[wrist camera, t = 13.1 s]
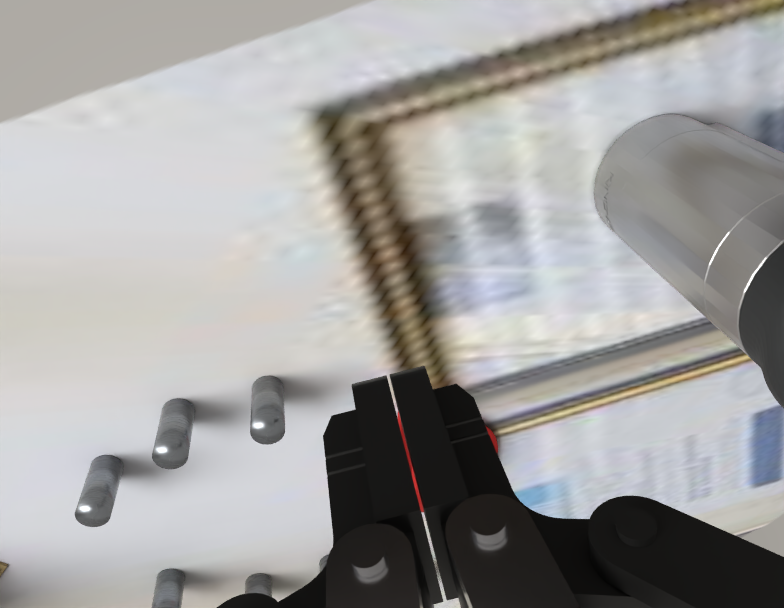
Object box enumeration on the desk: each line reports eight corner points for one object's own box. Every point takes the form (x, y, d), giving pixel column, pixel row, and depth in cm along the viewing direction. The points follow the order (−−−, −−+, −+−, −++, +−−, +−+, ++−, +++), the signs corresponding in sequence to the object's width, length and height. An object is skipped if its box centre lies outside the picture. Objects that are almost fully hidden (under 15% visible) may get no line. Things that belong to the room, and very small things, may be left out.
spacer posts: (368, 350, 51) (377, 389, 47) (432, 597, 67) (443, 643, 63) (65, 426, 51) (46, 473, 46) (203, 658, 66) (198, 709, 62)
